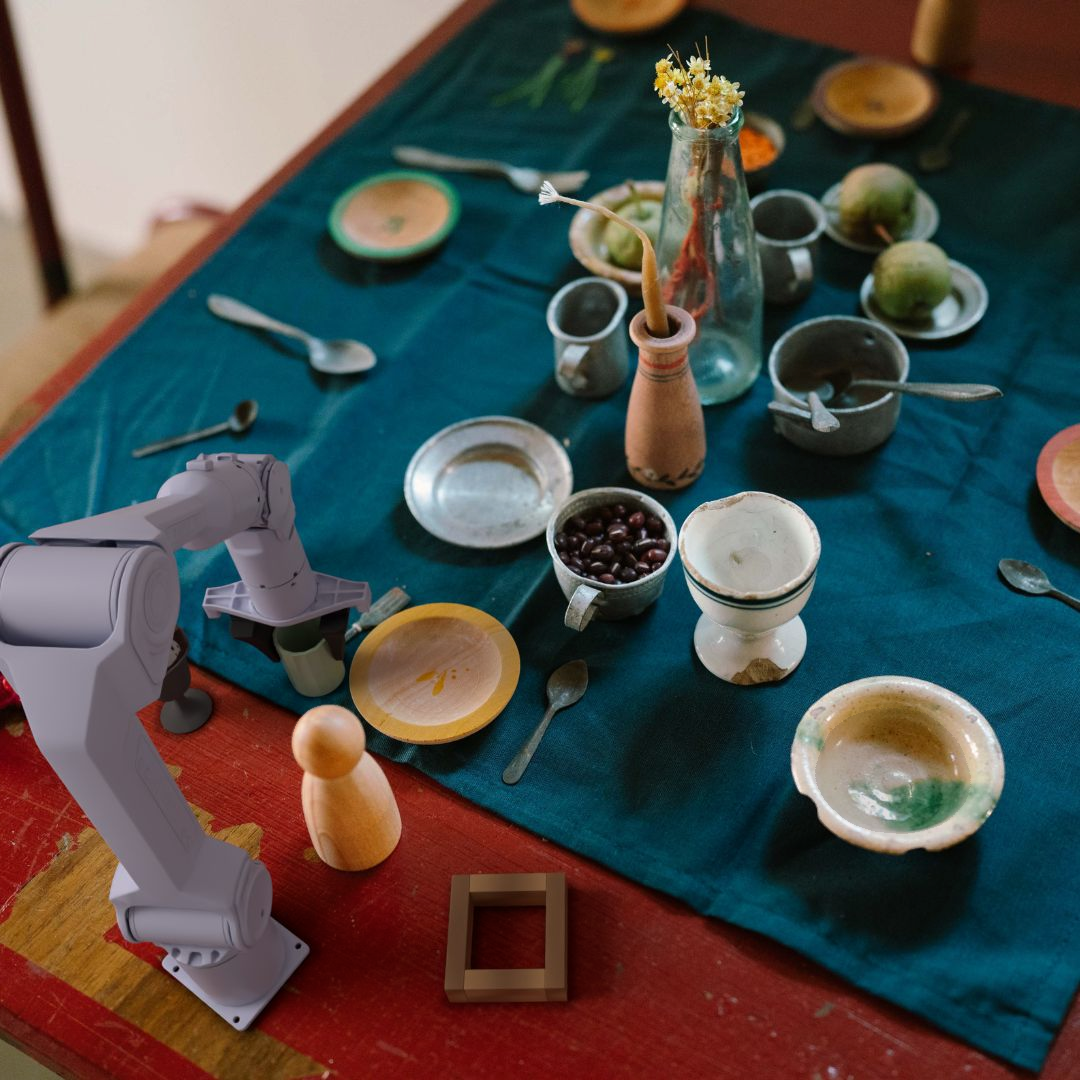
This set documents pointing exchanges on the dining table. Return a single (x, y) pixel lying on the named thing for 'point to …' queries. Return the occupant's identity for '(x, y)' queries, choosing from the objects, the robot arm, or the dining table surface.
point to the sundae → (182, 691)
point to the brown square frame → (506, 981)
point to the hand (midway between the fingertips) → (309, 652)
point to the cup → (308, 658)
